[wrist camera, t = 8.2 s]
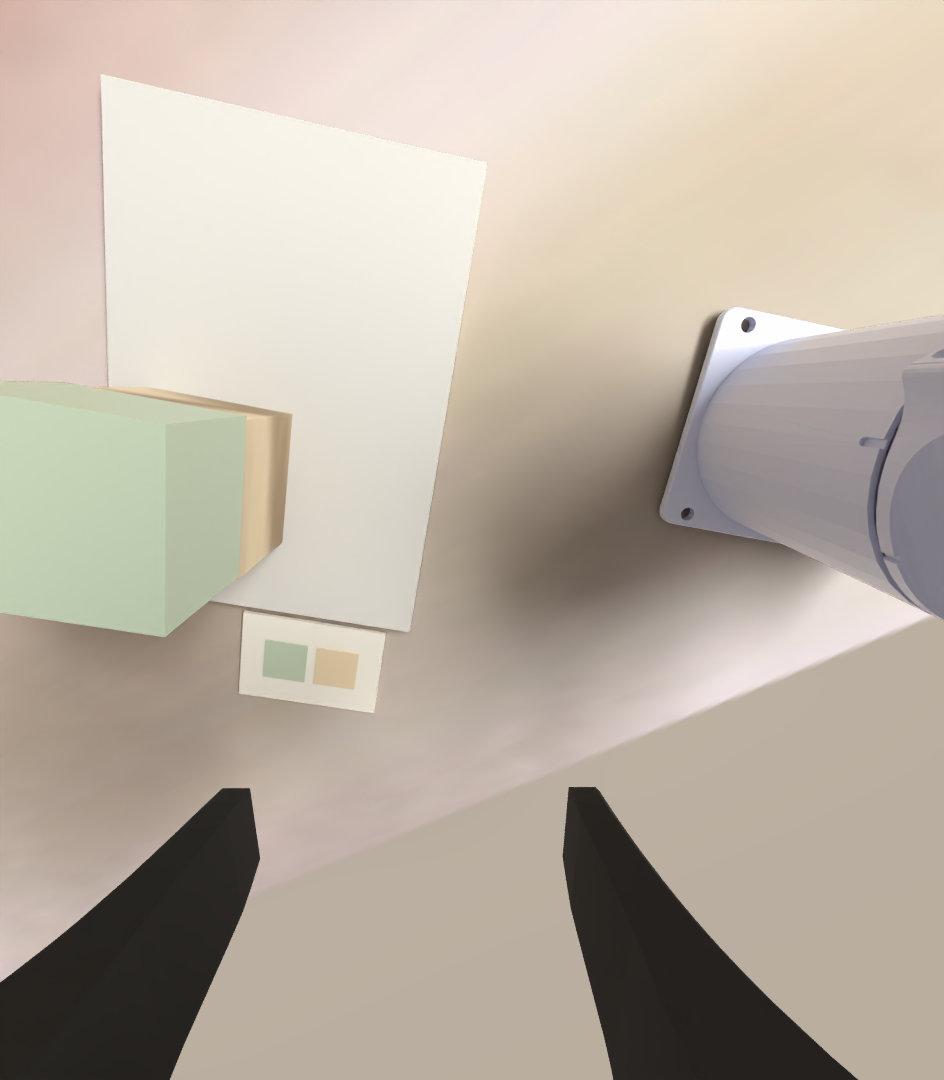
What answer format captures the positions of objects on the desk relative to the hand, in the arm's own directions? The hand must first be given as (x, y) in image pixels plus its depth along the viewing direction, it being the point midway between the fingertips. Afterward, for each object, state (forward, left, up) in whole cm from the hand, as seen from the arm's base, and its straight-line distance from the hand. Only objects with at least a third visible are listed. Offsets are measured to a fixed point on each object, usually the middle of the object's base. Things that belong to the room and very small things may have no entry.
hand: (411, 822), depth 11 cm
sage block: (+9, -5, -6) cm, 12 cm away
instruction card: (+5, +3, -10) cm, 12 cm away
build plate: (+7, -8, -10) cm, 15 cm away
